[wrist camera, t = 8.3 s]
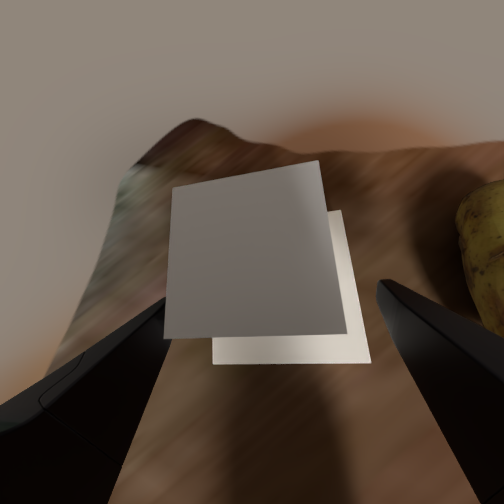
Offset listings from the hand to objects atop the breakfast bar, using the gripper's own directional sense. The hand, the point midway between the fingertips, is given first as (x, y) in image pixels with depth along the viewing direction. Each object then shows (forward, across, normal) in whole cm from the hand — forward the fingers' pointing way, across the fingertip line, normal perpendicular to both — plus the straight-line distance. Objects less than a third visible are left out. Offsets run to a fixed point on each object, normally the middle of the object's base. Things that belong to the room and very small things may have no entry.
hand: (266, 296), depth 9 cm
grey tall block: (+7, 0, +5) cm, 9 cm away
